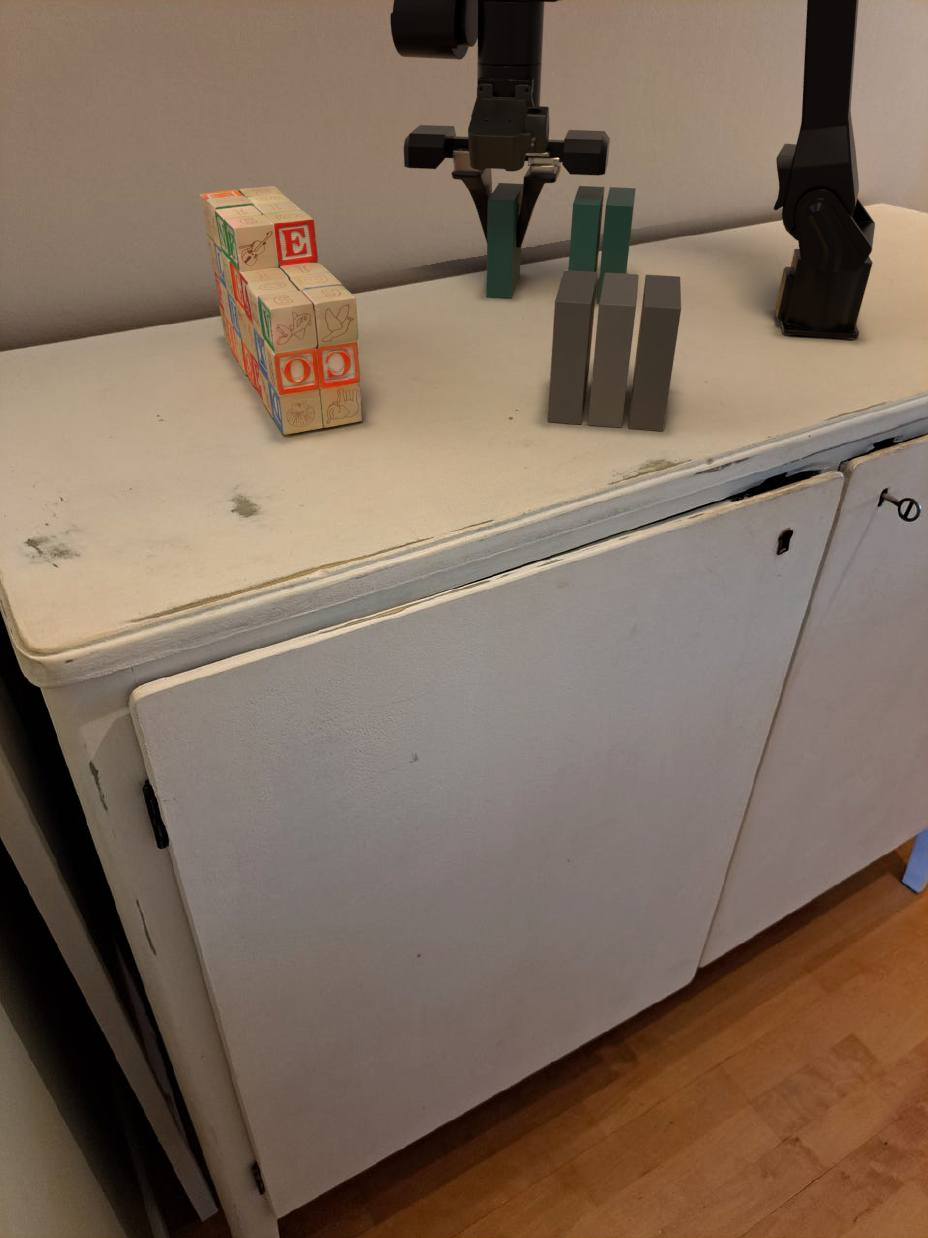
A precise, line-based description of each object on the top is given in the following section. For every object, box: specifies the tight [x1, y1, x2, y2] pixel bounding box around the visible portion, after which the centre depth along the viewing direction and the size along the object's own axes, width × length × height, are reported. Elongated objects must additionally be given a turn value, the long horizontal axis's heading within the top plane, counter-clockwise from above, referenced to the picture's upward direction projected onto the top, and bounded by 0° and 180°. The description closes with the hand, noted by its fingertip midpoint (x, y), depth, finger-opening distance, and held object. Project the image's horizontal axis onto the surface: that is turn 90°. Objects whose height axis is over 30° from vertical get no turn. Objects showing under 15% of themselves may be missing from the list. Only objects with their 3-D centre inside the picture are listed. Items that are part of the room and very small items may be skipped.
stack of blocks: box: [199, 185, 363, 436], centre depth 70 cm, size 21×6×12 cm, turn 23°
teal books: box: [567, 185, 636, 305], centre depth 88 cm, size 6×7×9 cm
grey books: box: [547, 269, 682, 432], centre depth 67 cm, size 8×7×9 cm
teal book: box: [485, 182, 523, 299], centre depth 89 cm, size 2×7×9 cm, turn 170°
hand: (504, 245), depth 90 cm, fingers closed on teal book, 2 cm apart
